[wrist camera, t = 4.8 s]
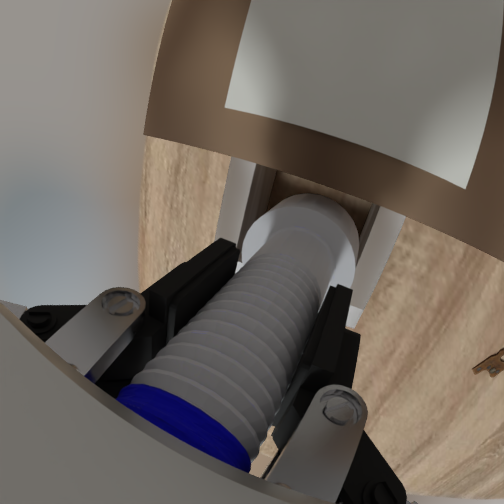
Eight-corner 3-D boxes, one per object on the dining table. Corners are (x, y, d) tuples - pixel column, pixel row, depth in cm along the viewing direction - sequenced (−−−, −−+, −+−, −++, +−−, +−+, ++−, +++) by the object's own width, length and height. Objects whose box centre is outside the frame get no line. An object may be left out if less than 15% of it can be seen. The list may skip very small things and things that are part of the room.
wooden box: (510, 38, 11) (571, 3, 3) (417, 312, 21) (427, 398, 14) (264, -36, 15) (208, -97, 7) (203, 230, 25) (132, 279, 18)
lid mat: (501, -17, 5) (503, -19, 5) (463, 187, 10) (465, 189, 9) (278, -78, 7) (276, -81, 7) (227, 107, 12) (224, 107, 12)
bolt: (268, 279, 18) (261, 191, 16) (357, 287, 16) (360, 192, 14) (66, 529, 4) (-61, 407, 2) (240, 624, 2) (162, 641, 1)
